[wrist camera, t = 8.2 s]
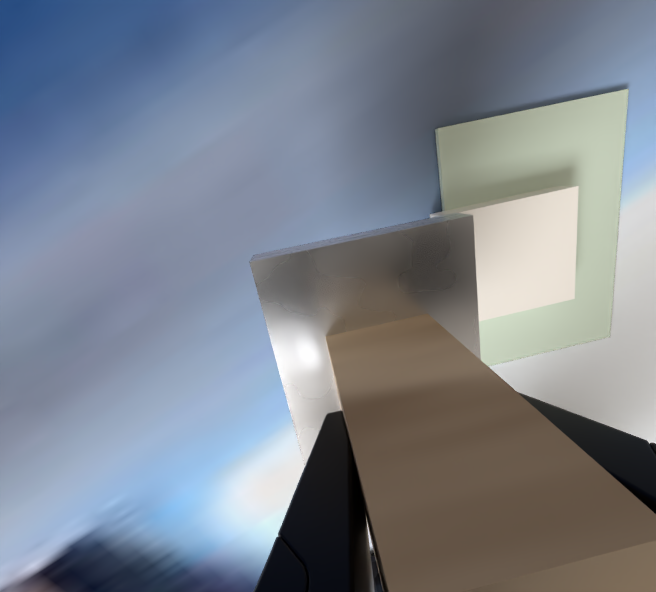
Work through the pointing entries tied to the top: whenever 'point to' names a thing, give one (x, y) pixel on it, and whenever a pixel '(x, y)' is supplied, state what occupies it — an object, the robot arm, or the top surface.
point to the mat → (540, 173)
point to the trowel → (441, 422)
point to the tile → (524, 250)
